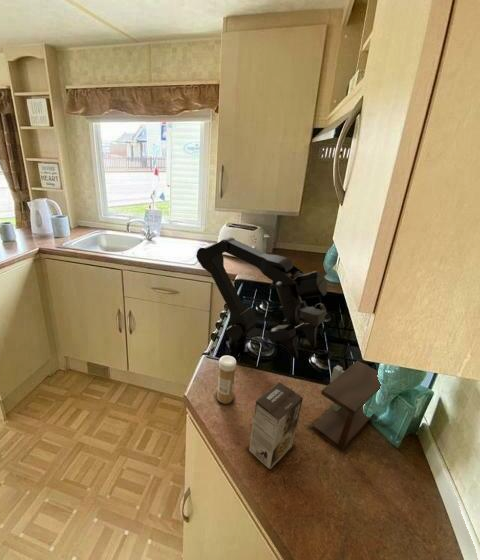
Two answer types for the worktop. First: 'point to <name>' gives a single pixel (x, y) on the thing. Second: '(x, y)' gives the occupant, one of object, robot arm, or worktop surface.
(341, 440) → the dark brown angular piece
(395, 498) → the worktop surface
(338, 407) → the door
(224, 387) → the sprinkles bottle
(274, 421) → the coffee box
